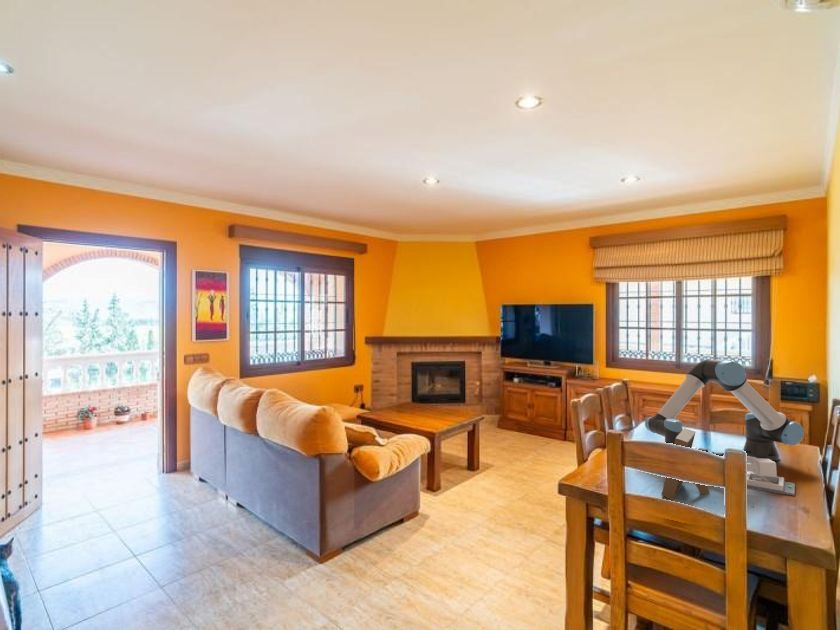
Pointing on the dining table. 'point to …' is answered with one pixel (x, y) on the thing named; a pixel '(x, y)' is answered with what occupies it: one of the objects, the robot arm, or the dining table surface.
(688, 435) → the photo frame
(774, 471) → the security camera
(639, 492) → the dining table surface
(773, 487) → the camera dock
